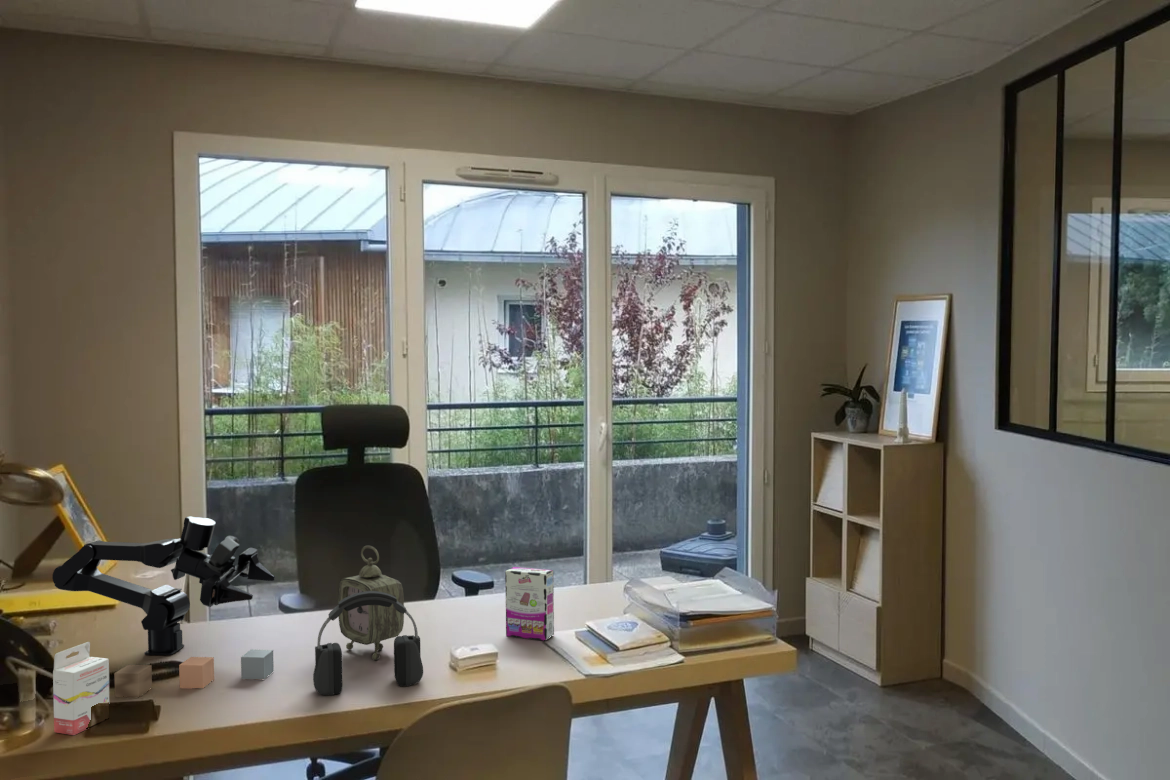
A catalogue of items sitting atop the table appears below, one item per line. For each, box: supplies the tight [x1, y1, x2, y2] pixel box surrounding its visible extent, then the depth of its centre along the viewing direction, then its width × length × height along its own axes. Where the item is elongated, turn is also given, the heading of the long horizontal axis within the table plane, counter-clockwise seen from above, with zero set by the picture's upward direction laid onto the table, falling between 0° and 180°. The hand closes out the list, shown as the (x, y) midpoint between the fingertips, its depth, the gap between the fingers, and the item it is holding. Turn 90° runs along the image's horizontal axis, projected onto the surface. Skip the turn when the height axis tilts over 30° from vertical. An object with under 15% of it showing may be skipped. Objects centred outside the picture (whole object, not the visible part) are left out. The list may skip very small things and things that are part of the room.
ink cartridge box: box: [52, 641, 110, 736], centre depth 172 cm, size 9×5×15 cm, turn 163°
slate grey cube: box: [240, 648, 275, 680], centre depth 198 cm, size 5×5×5 cm
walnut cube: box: [114, 664, 153, 698], centre depth 188 cm, size 5×5×5 cm
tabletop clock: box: [337, 545, 405, 661], centre depth 212 cm, size 14×9×25 cm, turn 47°
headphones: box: [312, 591, 424, 696], centre depth 191 cm, size 22×6×20 cm, turn 109°
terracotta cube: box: [178, 656, 215, 689], centre depth 193 cm, size 5×5×5 cm
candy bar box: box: [504, 566, 555, 642], centre depth 224 cm, size 11×5×16 cm, turn 68°
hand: (263, 587), depth 210 cm, fingers open, 9 cm apart
